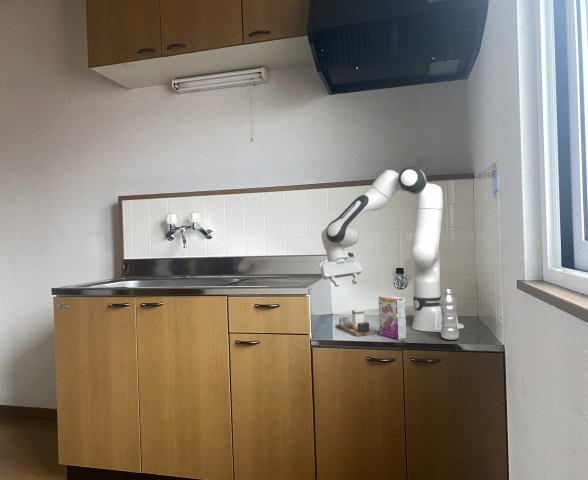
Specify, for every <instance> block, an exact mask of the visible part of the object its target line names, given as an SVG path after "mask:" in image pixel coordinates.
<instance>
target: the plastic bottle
mask: <svg viewBox="0 0 588 480" xmlns="http://www.w3.org/2000/svg"><path fill="white" fill-rule="evenodd" d="M442 294H443V295H442V296H441V299H440V302H439V303H440V308H441V315H442V327H441V332H440V336H441V338H442V339H444V340H449V341H454V340H457V339H458V338H459V334H460V332H459V329H458V328H457V320H456V315H457V309H458V301H457V298H456V297H455V296H454V288H452V287H451V288H450V287H448V288H445V287H444V288H443V289H442Z"/></svg>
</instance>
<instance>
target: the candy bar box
mask: <svg viewBox="0 0 588 480" xmlns="http://www.w3.org/2000/svg"><path fill="white" fill-rule="evenodd" d="M378 311H379V312H378V314H379V315H378V316H379V317H378V318H379V319H378V320H379V335H380V336H383V337H387V338H390V339H394V340H397V341H401V340H405V339H407V338H408V337H407V316H406V315H407V313H406V312H407V311H406V298H403V297H397V296H392V295H382V296H378Z"/></svg>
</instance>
